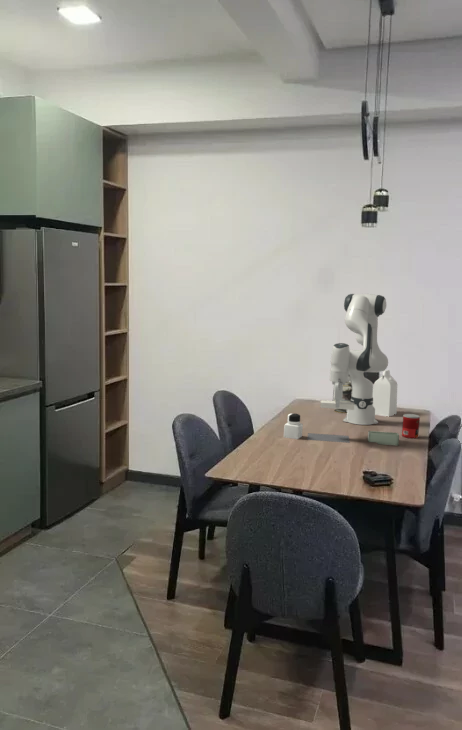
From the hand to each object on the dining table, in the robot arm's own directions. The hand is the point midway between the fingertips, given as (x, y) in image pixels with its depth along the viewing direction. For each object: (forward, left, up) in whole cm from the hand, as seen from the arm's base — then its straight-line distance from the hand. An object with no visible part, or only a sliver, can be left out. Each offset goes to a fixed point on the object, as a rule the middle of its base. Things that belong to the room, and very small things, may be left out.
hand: (337, 405), depth 307 cm
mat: (0, -3, -17) cm, 17 cm away
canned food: (-18, +38, -17) cm, 45 cm away
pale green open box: (0, +23, -17) cm, 28 cm away
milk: (-74, +30, -17) cm, 81 cm away
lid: (0, 0, -1) cm, 1 cm away
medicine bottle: (+3, -20, -17) cm, 27 cm away
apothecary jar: (-73, +6, -17) cm, 75 cm away
